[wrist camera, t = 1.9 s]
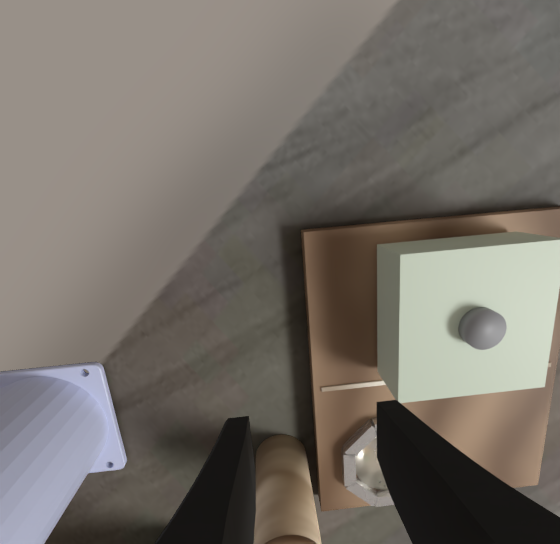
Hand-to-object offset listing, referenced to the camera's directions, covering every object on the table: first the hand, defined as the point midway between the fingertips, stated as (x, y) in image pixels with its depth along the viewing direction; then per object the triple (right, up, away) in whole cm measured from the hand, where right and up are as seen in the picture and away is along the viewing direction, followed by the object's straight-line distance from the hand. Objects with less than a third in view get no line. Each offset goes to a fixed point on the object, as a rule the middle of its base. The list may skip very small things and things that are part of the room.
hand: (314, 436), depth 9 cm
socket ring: (+7, -8, +12) cm, 16 cm away
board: (+9, -1, +12) cm, 15 cm away
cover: (+9, +3, +9) cm, 13 cm away
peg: (-1, -8, +13) cm, 15 cm away
